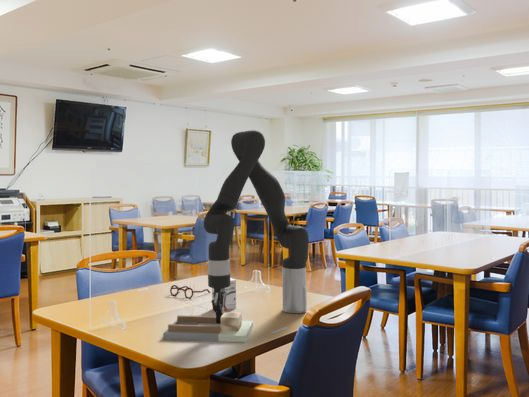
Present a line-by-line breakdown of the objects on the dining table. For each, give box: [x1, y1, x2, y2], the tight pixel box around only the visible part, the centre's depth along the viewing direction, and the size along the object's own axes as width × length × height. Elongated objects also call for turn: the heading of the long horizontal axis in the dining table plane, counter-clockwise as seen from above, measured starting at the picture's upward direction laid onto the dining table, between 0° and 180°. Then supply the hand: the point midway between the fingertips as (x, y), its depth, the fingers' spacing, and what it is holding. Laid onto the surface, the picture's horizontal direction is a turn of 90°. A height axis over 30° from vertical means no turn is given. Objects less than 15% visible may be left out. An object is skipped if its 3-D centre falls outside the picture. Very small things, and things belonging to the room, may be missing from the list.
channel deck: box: [162, 314, 254, 343], centre depth 175 cm, size 28×16×4 cm, turn 83°
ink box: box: [211, 277, 237, 311], centre depth 205 cm, size 8×5×12 cm, turn 123°
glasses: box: [169, 284, 212, 299], centre depth 229 cm, size 13×13×5 cm
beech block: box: [221, 311, 243, 331], centre depth 173 cm, size 6×6×4 cm
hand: (219, 322), depth 174 cm, fingers closed
